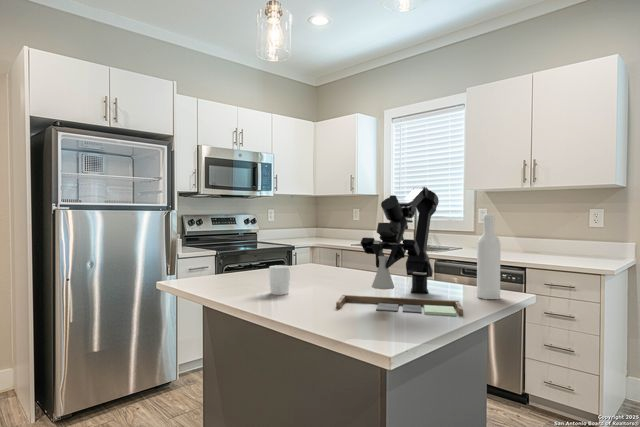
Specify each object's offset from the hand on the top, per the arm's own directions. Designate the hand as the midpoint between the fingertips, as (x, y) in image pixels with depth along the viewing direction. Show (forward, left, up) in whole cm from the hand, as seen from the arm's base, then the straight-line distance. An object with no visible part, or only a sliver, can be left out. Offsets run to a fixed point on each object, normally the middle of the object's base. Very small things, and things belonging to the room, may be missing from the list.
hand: (381, 267), depth 130 cm
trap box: (-3, +5, -13) cm, 15 cm away
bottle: (-27, +36, -13) cm, 47 cm away
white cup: (-16, -39, -13) cm, 44 cm away
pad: (-1, +18, -13) cm, 22 cm away
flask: (-1, 0, -7) cm, 7 cm away
